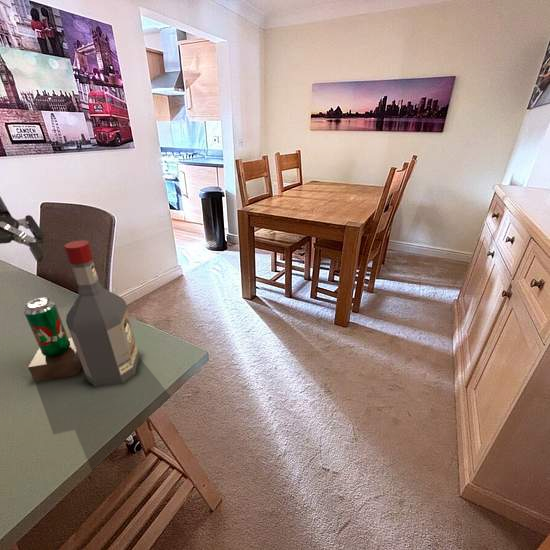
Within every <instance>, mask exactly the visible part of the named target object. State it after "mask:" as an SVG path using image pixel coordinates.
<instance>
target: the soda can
mask: <svg viewBox="0 0 550 550" xmlns="http://www.w3.org/2000/svg"><path fill="white" fill-rule="evenodd" d="M23 308H24V310H23V314H24V316H25V318H26V321H27V323H28V326H29V327H30V330H31V332H32V334H33V337H34V338H35V342H36V343H37V345H38V349H39V348H40V350H41V352H42V354H43V355H44V356H47V357H55V356H58V355H61V354H63V353H64V352H66V351H67V350H68V348H69V347H70V342H69V339H68V338H69V336H68V333H67V331H66V329H65V326H64V322H63V321H62V318H61V315H60V312H59V311H58V307H57V305H56V303H55V302H54V301H53V300H52V299H51V298H50V297H38V298H35V299H31V300H29V301H28V302H27V303H25V304H24V306H23Z"/></svg>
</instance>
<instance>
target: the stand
mask: <svg viewBox="0 0 550 550" xmlns="http://www.w3.org/2000/svg"><path fill="white" fill-rule="evenodd" d="M68 339H69V342H70V347H69V348H68V350H67V351H66V352H64V353H63V354H61V355H58V356H55V357H47V356H44V355H43V354H42V352H41V350H40V348H39V347H38V350H37V351H36V353H35V354H34V357H33V358H32V360H31V362H30V363H29V365H28V366H27V369H28V371H29V372H30V375H31V376H32V379H33V381H34V382H35V383H38V382H45V381H49V380H56V379H60V378H66V377H73V376H77V375H79V374H80V372H81V370H82V368H83V366H82V364H81V361H80V358H79V356H78V353H77V350H76V348H75V345H74V342H73V339H72V337H68Z"/></svg>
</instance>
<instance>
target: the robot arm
mask: <svg viewBox="0 0 550 550" xmlns="http://www.w3.org/2000/svg"><path fill="white" fill-rule="evenodd" d="M21 226H22V227H23V228H25V229H27V230H29V231H30V233H31V234H32V235H33V236H31V235H28V234H27V233H26V232H24V231H23V230H21V229H19V228H20V227H21ZM12 241H13V242H15V243H17V244H20V245H24V246H27V247H29V251H30V252H31V254H32V256H33V258H34V259H35V261H36V263H37V264H39V263H42V260H44V253H43V251H42V249H41V247H40V244H44V243H45V234H44V232H43V230H42V229H41V228H40V227H39V224H38V223H37V222H36V221H35V219H34V217H33V216H32V215H30V214H28V215H25V217H24V218H19V219H16V218H14V217H13V216H12V214H11V212H10V211H9V209H8V207H7V205H6V204H5V202H4V200H3V198H2V196H0V245H1V244H2V245H3V244H10V243H12Z"/></svg>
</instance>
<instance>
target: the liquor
mask: <svg viewBox="0 0 550 550" xmlns="http://www.w3.org/2000/svg"><path fill="white" fill-rule="evenodd" d="M63 246H64V250H65V253H66V256H67V259H68V263H69V264H70V265H71V269H72V271H73V274H74V278H75V281H76V284H77V288H78V290H77V293H78V296H77V298H76V299H75V301H74V302H73V304H72V306H71V307H70V308H69V311H68V312H67V314H66V318H65V324H66V327H67V328H68V331H69V334H70V338H72V339H73V342H74V345H75V348H76V350H77V353H78V356H79V358H80V361H81V364H82V369H83V372H84V374H85V377H86V379H87V381H88V382H89V383H90V384H92V385H93V386H94V387H100V386H107V385H114V384H122V383H125V381H127V380H129V379H130V378H132V377H134V375H135V374H136V372H137V368H138V367H137V366H138V363H139V359H140V355H139V349H138V347H137V342H136V339H135V335H134V331H133V327H132V322H131V318H130V315H129V311H128V307H127V302H126V301H125V299H124V298H123V297H121V296H119V295H118V294H116V293H113V292H112V291H109V290H108V289H106V288H104V287H103V284H102V283H101V282H100V279H99V276H98V273H97V270H96V267H95V263H94V255H93V253H92V249H91V246H90V242H89V241H88V240H83V239H82V240H74V241H70V242H67V243H65V244H64V245H63Z"/></svg>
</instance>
